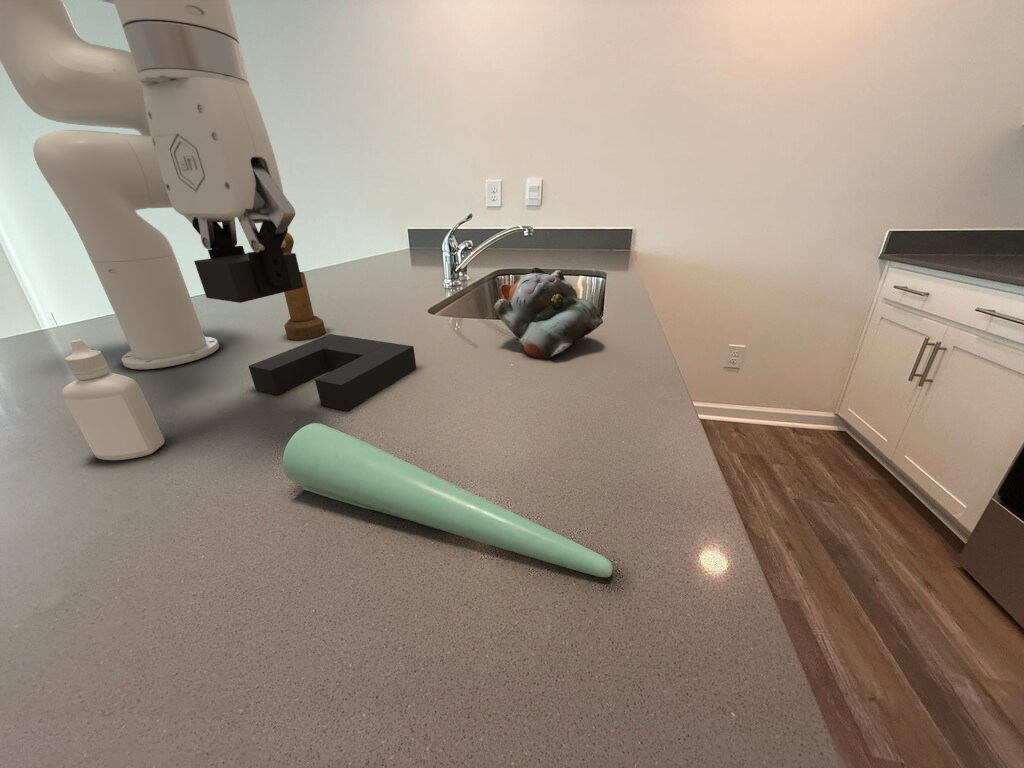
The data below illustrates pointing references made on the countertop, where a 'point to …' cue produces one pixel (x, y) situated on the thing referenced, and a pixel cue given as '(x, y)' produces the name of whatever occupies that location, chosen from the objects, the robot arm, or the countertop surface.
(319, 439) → the long green cone
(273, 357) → the dark grey u-shaped block
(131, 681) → the countertop surface
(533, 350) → the lucky cat figurine
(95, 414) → the eye dropper bottle
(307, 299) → the mortar and pestle
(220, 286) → the dark grey block
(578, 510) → the countertop surface
